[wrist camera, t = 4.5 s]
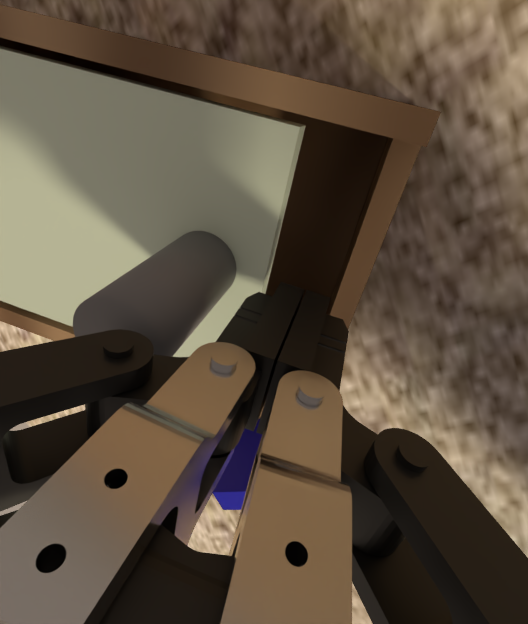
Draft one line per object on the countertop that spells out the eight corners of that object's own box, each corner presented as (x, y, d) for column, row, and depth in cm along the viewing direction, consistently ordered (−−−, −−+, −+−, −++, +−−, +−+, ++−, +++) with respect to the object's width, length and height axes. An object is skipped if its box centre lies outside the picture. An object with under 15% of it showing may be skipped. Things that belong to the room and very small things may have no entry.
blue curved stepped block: (356, 528, 29) (350, 617, 24) (303, 527, 31) (287, 610, 26) (303, 411, 25) (282, 490, 20) (244, 418, 27) (212, 492, 22)
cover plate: (305, 125, 11) (239, 146, 6) (246, 373, 16) (184, 495, 11) (-124, 13, 13) (-442, -42, 8) (-53, 266, 18) (-219, 329, 13)
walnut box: (418, 107, 15) (441, 111, 9) (330, 341, 21) (309, 435, 15) (70, 22, 17) (-102, -21, 11) (84, 258, 24) (-20, 313, 17)
